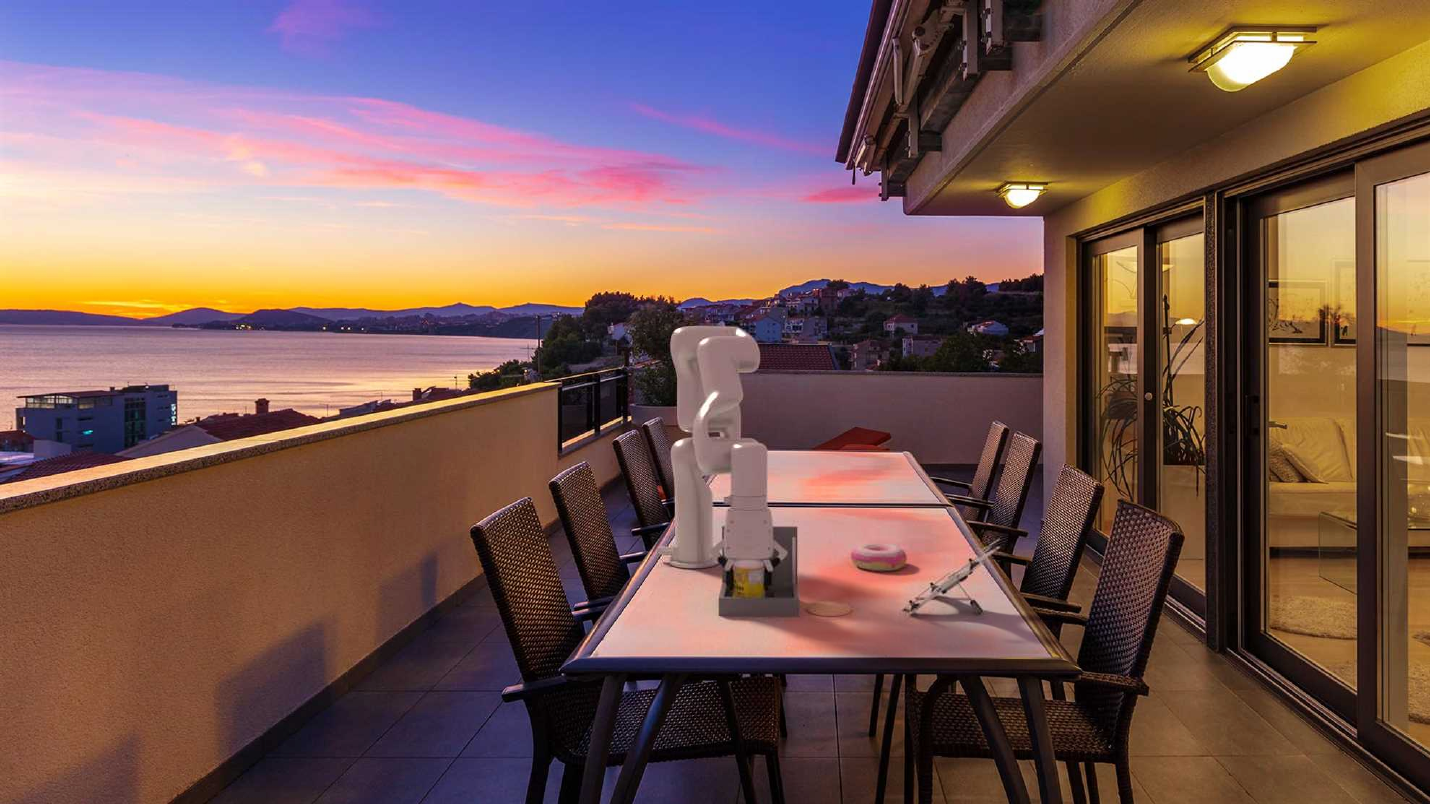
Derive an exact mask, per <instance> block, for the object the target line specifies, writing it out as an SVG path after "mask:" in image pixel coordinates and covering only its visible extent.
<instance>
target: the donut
mask: <svg viewBox="0 0 1430 804" xmlns="http://www.w3.org/2000/svg"><path fill="white" fill-rule="evenodd" d="M907 558H908V557H907V554H906V551H905V550H904V549H903V548H902V547H900V546H897V545H894V544H891V543H886V542H885V543H884V542H883V543H882V542H870V543H863V544H860V545H859V544H858V545H857V546H855V547H853V549H852V551H851V552H850V559H851V562H852V563H853V564H854V565H855V566H856V567H858V568H860V569H863V570H867V571H874V572H893V571H897V570H900V569H901V568H903V567H904V566H905V564H906V562H907V560H908V559H907Z"/></svg>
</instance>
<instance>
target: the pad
mask: <svg viewBox="0 0 1430 804" xmlns="http://www.w3.org/2000/svg"><path fill="white" fill-rule="evenodd" d="M805 610H806V612H807V613H808V614H811V615H814V616H821V617H840V616H845V615H847V614H849V613H850V612H851V607H850V606H849V605H848V604H845V603H842V602H838V601H815V602H811V603H808V604H807V605H806V606H805Z"/></svg>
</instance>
